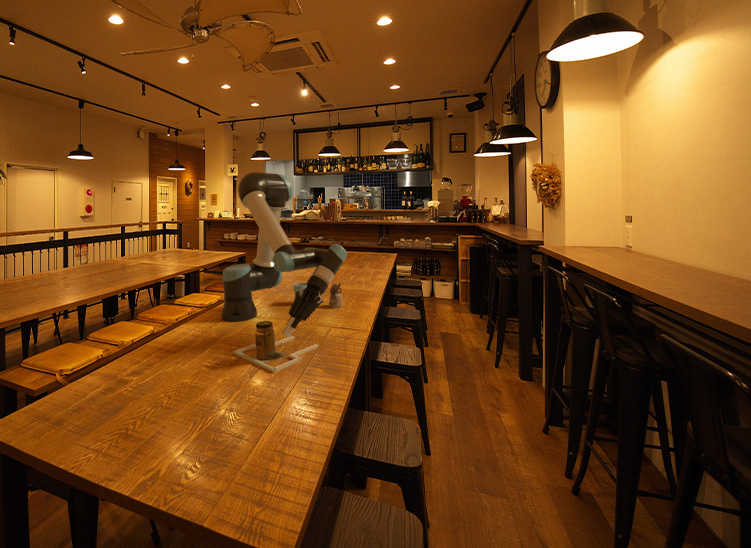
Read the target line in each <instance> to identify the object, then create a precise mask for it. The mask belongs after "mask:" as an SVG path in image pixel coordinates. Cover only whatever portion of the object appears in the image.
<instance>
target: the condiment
mask: <svg viewBox="0 0 751 548" xmlns="http://www.w3.org/2000/svg"><path fill="white" fill-rule="evenodd" d="M273 324H274V323H273V321H271V320H263V321H258V322H256V324H255V327H256V328H255V332H254V333H255V334H254V335H255V344H256V348H255V352H256V355H253V356H251V357H252V358H254V359H257V360H259V361H261V362H263V363H265V364H266V363H268V362H272V361H273V360H275V359H278V358H281V357H283V356H286V354H285V353H281V352H280V351H278V350H276V346H275V342H276V340H275V337H276V336H275V330H274V326H273Z"/></svg>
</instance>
